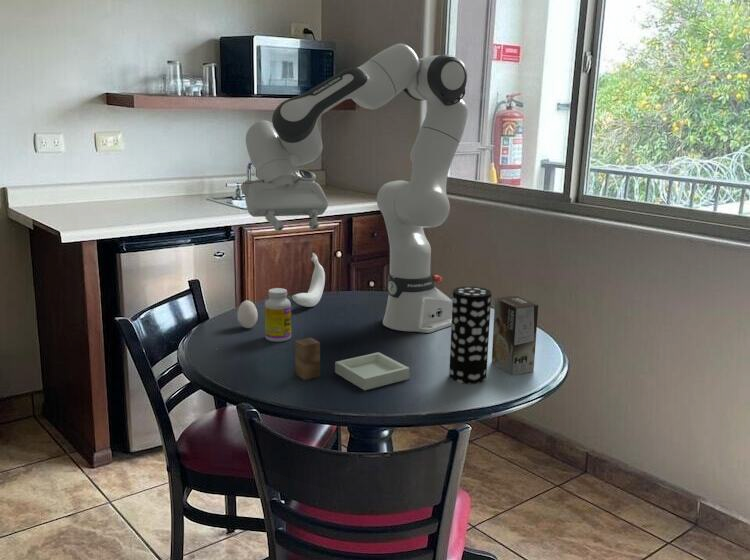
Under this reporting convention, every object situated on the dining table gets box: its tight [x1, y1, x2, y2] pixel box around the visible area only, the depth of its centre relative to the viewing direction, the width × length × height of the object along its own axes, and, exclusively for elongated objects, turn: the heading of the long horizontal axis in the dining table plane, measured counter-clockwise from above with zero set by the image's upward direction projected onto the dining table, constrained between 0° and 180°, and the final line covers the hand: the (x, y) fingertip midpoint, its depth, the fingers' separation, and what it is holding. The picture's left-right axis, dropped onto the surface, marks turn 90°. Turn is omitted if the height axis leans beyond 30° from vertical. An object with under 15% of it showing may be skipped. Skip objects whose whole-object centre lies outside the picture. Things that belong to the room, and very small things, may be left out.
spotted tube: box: [448, 286, 492, 385], centre depth 160 cm, size 8×8×20 cm
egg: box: [236, 299, 259, 329], centre depth 192 cm, size 5×5×8 cm
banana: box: [291, 252, 326, 308], centre depth 213 cm, size 5×19×15 cm, turn 166°
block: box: [294, 337, 321, 381], centre depth 160 cm, size 4×4×8 cm
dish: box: [334, 351, 411, 391], centre depth 161 cm, size 12×12×3 cm
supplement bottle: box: [264, 287, 292, 343], centre depth 184 cm, size 7×7×13 cm
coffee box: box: [491, 295, 539, 376], centre depth 166 cm, size 9×6×16 cm
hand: (297, 228), depth 166 cm, fingers open, 8 cm apart
